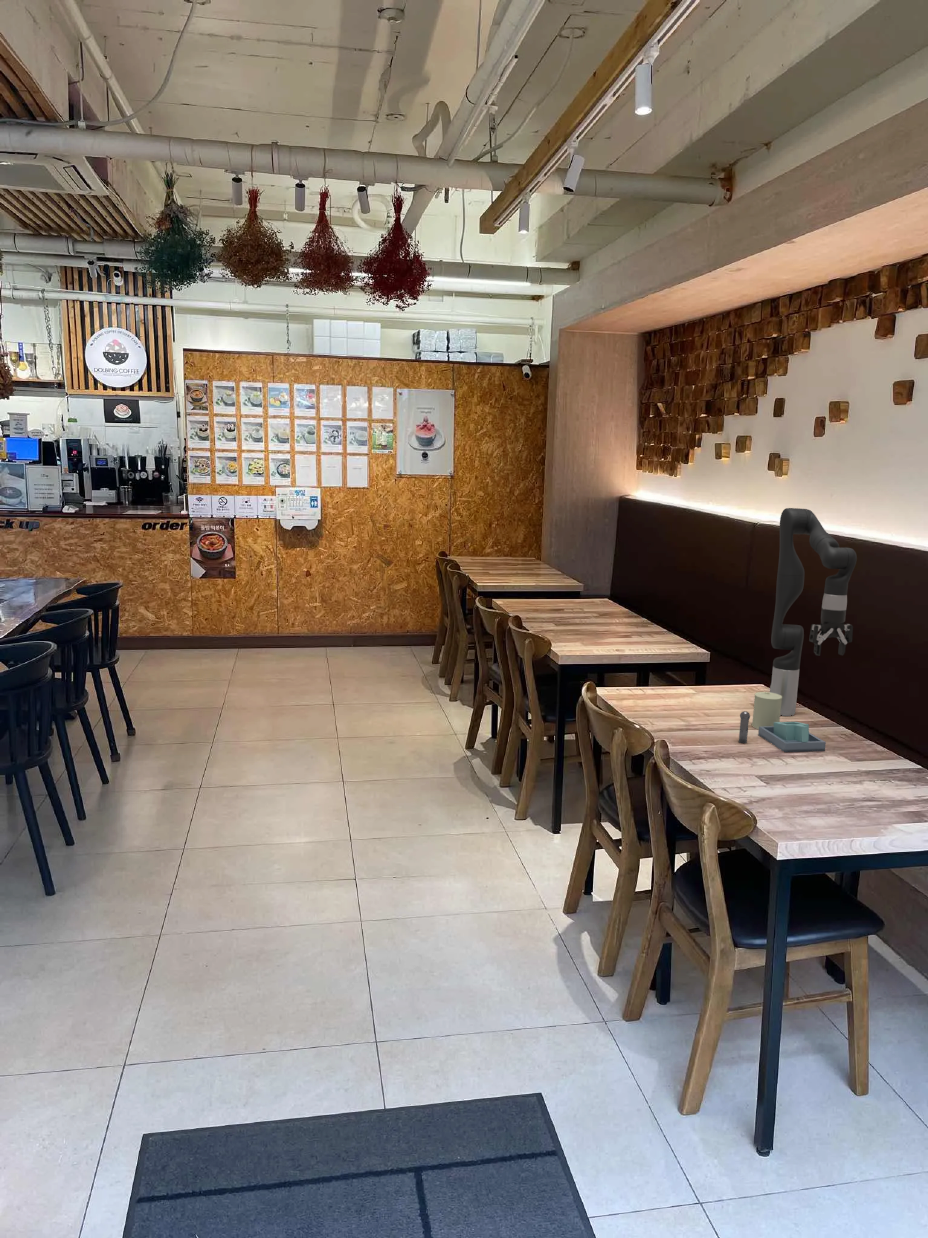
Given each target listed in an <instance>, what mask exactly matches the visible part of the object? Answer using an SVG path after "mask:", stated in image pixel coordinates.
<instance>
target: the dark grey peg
mask: <svg viewBox="0 0 928 1238" xmlns="http://www.w3.org/2000/svg"><path fill="white" fill-rule="evenodd" d="M739 718H740V719H739V721H740V722H739V724H740V725H739V734H738V743H739V744H744V743H745V744H747V743H748V733H749V722H750V718H751V714H750V712H749V711H747V710H744V711H741V712H740V713H739Z"/></svg>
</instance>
